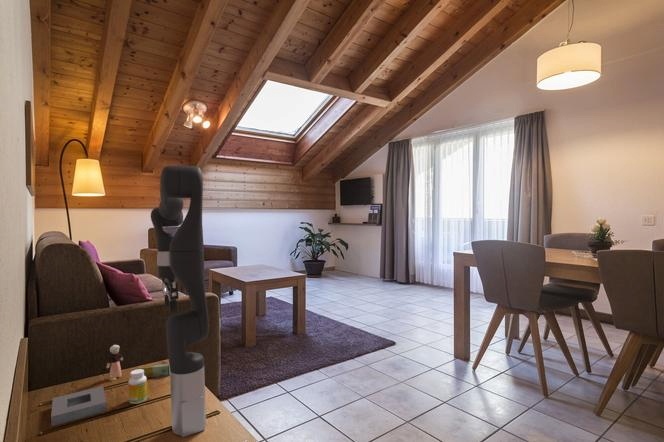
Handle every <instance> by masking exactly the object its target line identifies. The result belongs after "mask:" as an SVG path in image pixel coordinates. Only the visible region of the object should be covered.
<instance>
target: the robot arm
mask: <svg viewBox="0 0 664 442" xmlns="http://www.w3.org/2000/svg"><path fill="white" fill-rule="evenodd" d="M159 180H160V181H159V183H160V184H159V197H160V202H159V206H158V207H157V206H156V207H154V208H153V209H152V210H151V212H150V220H151V223H152V226H153V228H154V229H153V230H154V232H155V235H156V242H157V245H156V246H157V256H156V260H157V262H156V263H157V264H156V265H157V277H158V278H159V279H161V283H162V292H161V293H162V294H163V295H162V296H163V297H164V307H165V308H167V307H169V312H171V313H173V312H177V310H178V303H177V301H178V300H179V283H180V285H182V287H183V288H184V290H185V292H186V294H187V296H188V300H189V303H190V310H189V311H185V312H180V313H176V314H172V315H169V317H168V318H167V320H166V324H165V333H166V344H167V346H166V347H167V359H168V364H170V376H169V377H170V379H169V380H170V381H169V382H170V383H169V385H170V403H171V404H170V407H171V429H172V433H173V434H174V435H176V436H181V438H185V437H188V436H191V435H193V434H196V433H200V432H203V431H204V430H205V429H206V428H205V427H206V426H207V411H206V410H207V408H206V385H205V384H206V383H205V381H206V379H205V358H204V356H203V355H202V354H201V353H199V352H193V351H187V349H186V346H190V345H192V344H196V343H199V342H202V341H204V340H206V339H207V338H208V335H209V331H210V330H209V329H210V324H209V323H210V321H209V313H208V304H207V296H206V286H205V247H204V233H203V232H204V230H203V199H204V198H203V196H204V179H203V172H202V170H201V168H200V167H199V166H196V165H166V166H164V167H163V168H162V170H161V173H160V179H159ZM183 199H190V200H189V207H188V210H187V212H186V215H185V217H184V214H183V209H184V200H183ZM173 227H174V228H175V227H178V229H177V230H176V231H175V233H170V232H167V231H165V230H164V229H163V228H173ZM176 279H177V281H176Z"/></svg>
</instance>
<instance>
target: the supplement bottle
mask: <svg viewBox="0 0 664 442" xmlns="http://www.w3.org/2000/svg"><path fill="white" fill-rule="evenodd" d="M147 378H148V377H147ZM147 378H146V376H144V370H143V369H137V368H136V369H135V370H132V371H130V378H129V379H128V401H129V403H130V404H132V405H137V404H141V403H143V402H145V401H147V398H148V379H147Z"/></svg>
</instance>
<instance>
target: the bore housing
mask: <svg viewBox="0 0 664 442" xmlns="http://www.w3.org/2000/svg"><path fill="white" fill-rule="evenodd" d="M51 404H52V405H51V413H50V416H51V417H50V422H51V424H50V425H51V428H52V426H53V427H56V426H60V425H63V424H67V423H71V422H75V421H77V420H81V419H85V418H89V417H92V416H96V415H100V414H102V413H103V414H104V413H107V412H108V411H107V409H108V408H107V398H106V394H105V388H104V386H103V385H102V386H101V385H100V386H99V387H98V386H97V387H93V388H90V389H89V388H88V389H85V390H82V391H77V392H73V393H68V394H65V395H60V396H57V397H52V403H51Z"/></svg>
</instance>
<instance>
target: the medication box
mask: <svg viewBox="0 0 664 442" xmlns="http://www.w3.org/2000/svg"><path fill="white" fill-rule="evenodd" d="M137 369H143V370H144V376H146V378H159V377H170V364H169V363H164V364H163V363H162V364H161V363H160V364H151V365H147V364H146V365H139V366H137V368H136V370H137Z"/></svg>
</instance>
